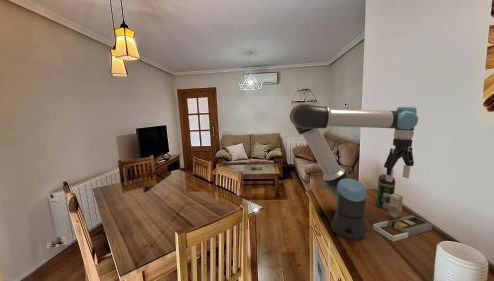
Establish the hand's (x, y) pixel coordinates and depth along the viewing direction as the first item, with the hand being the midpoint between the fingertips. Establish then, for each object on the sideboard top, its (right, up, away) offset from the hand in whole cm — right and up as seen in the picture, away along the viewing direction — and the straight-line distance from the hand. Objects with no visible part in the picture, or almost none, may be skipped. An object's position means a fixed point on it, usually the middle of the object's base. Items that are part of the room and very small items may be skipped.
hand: (397, 179), depth 103 cm
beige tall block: (-1, -21, +1) cm, 21 cm away
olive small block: (0, -22, -7) cm, 23 cm away
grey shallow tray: (+1, -22, -7) cm, 23 cm away
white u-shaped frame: (-11, -23, -10) cm, 28 cm away
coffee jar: (+3, -19, +15) cm, 24 cm away
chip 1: (-5, -22, -8) cm, 24 cm away
